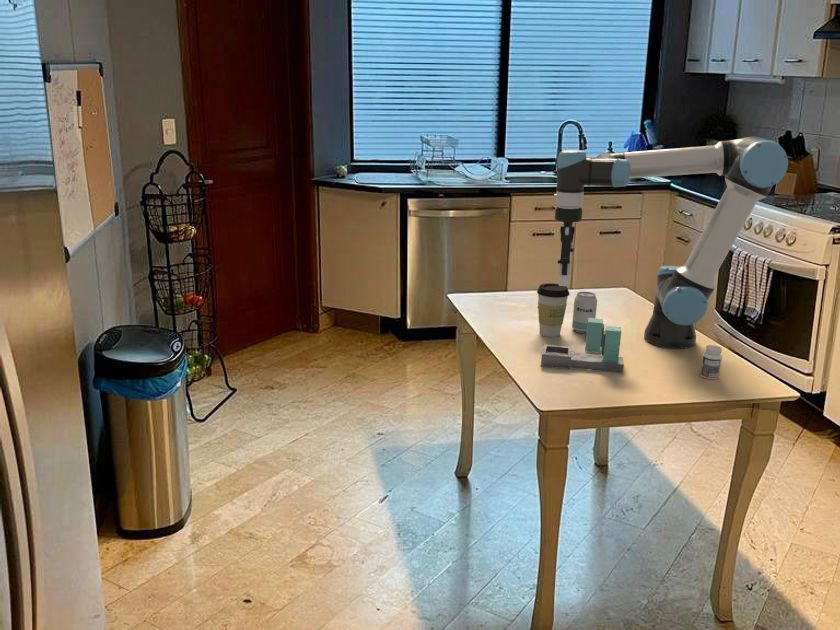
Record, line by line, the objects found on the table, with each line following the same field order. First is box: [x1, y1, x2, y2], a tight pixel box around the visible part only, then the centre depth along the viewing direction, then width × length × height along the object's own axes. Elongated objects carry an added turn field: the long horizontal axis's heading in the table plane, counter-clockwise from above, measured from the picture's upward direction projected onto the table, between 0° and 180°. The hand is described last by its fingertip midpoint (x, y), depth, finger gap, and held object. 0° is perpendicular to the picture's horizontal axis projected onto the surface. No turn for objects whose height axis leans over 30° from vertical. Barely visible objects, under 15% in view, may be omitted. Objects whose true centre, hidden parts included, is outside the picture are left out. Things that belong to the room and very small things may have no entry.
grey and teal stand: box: [540, 325, 625, 374], centre depth 219 cm, size 22×8×11 cm, turn 78°
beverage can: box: [571, 291, 598, 334], centre depth 248 cm, size 7×7×12 cm
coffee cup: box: [536, 282, 570, 338], centre depth 243 cm, size 10×10×15 cm
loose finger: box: [585, 317, 605, 354], centre depth 232 cm, size 5×4×9 cm
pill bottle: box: [700, 344, 723, 380], centre depth 214 cm, size 5×5×8 cm
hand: (564, 279), depth 229 cm, fingers open, 13 cm apart
